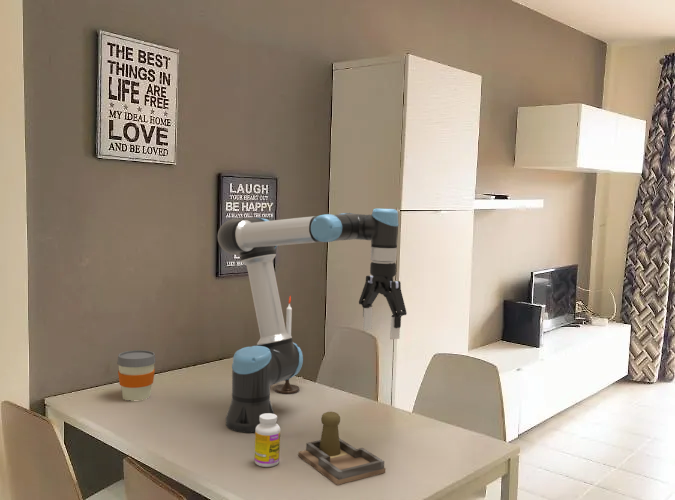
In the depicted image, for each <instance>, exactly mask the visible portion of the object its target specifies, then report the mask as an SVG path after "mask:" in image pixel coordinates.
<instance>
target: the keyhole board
mask: <svg viewBox="0 0 675 500" xmlns="http://www.w3.org/2000/svg"><path fill="white" fill-rule="evenodd" d="M320 441H321V439H318V440H313V441H309V442H306V447H305V448H306V449H304V450H300V451H298V454H297V455H298V457H299V458H301V460H303V461H304V462H305V463H307V464H308V465H309V466H311V467H312V468H314V469H315V470H316V471H318V472H319V473H321V474H322V475H323V476H324V477H326V478H327V479H328V480H330V481H331V482H332V483H334V484H335V485H336V486H338V485H342V484H346V483H350V482H354V481H358V480H362V479H366V478H370V477H373V476H377V475H381V474H385V473H386V467H385V461H384V460H383V459H382V458H380V457H379V456H376V455H375V454H374V453H372V452H370V451H369V450H367V449H366V448H363V447H360V448H355V446H353V445H350V444H349V443H348V442H346V441H344V440H343V439H341V438H340V437H339V441H340V454H339V455H337V456H329V455H327V454H326V453H324V452H323V451H321V450H320V449H319V447H320Z"/></svg>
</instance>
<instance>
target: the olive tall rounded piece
mask: <svg viewBox="0 0 675 500" xmlns="http://www.w3.org/2000/svg"><path fill="white" fill-rule="evenodd" d="M340 422H341V416H340V415H339V413H338V412H335V411H326V412H324V413H323V414H322V415H321V424H322V430H321V436H320V440H321V441H320V447H319V449H320V450H321V451H323V452H324V453H326V454H327V455H329V456H337V455H339V454H340V441H339V438H340V432H339V425H340Z"/></svg>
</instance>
